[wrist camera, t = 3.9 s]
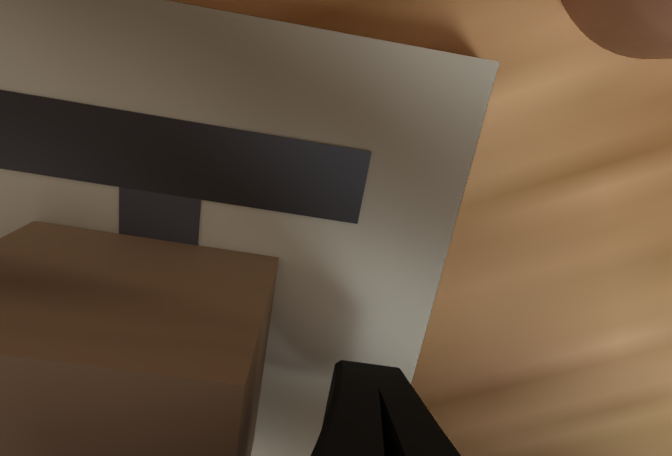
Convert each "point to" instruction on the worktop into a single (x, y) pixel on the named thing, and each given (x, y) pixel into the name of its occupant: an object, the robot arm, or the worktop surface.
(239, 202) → the letter board
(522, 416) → the worktop surface
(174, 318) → the walnut block
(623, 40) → the terracotta cylinder
